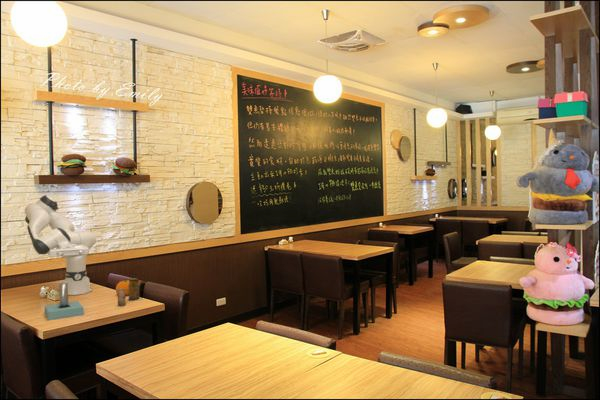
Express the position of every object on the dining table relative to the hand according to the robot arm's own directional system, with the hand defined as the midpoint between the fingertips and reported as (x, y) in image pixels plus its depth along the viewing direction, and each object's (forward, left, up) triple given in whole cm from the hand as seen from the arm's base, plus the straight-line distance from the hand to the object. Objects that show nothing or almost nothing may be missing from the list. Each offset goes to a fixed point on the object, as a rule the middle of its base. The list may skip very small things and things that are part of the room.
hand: (71, 253), depth 245 cm
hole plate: (+13, -6, -30) cm, 33 cm away
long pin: (+13, -6, -30) cm, 33 cm away
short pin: (+13, +23, -30) cm, 40 cm away
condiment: (+2, +33, -30) cm, 45 cm away
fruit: (-13, +32, -30) cm, 46 cm away
